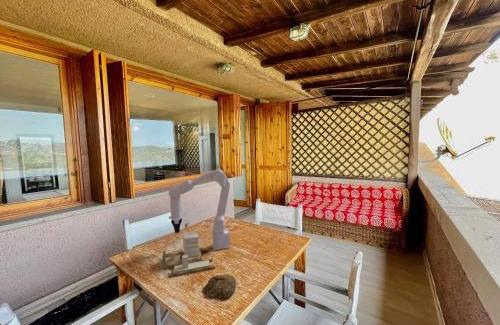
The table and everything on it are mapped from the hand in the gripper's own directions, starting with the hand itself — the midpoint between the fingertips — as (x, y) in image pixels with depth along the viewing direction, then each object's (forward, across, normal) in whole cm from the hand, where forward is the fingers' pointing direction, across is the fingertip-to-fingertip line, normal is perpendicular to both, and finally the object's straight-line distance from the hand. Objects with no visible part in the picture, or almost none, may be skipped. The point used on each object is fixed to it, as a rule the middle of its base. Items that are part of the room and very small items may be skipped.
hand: (177, 232), depth 121 cm
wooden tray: (+10, +13, +2) cm, 17 cm away
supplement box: (+10, +13, +6) cm, 18 cm away
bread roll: (+10, +42, +16) cm, 46 cm away
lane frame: (+10, +17, +6) cm, 21 cm away
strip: (+10, +23, +6) cm, 26 cm away
